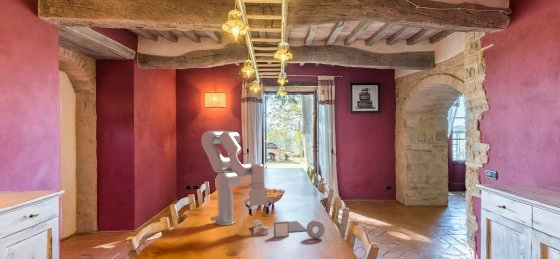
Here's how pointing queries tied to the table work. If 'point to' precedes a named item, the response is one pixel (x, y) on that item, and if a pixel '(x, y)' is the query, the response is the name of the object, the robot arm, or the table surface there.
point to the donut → (320, 232)
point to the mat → (296, 227)
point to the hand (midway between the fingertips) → (259, 214)
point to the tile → (281, 229)
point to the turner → (259, 228)
